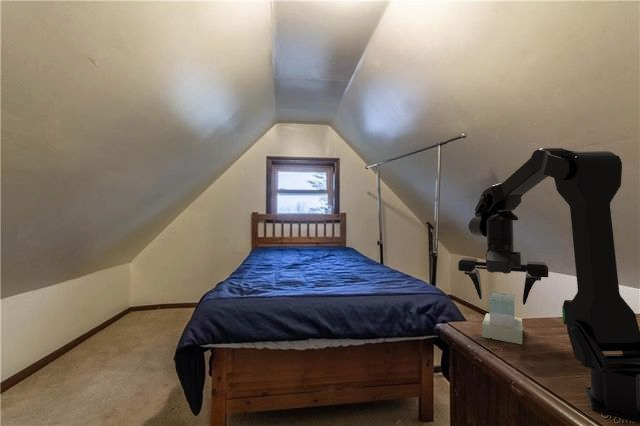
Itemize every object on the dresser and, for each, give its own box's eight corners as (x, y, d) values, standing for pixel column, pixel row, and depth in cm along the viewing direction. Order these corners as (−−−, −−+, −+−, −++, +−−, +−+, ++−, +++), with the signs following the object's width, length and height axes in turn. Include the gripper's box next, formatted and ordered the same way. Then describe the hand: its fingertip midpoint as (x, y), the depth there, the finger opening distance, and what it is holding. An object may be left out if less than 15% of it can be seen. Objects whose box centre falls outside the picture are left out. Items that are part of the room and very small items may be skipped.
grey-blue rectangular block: (515, 318, 77) (514, 294, 77) (514, 328, 70) (513, 302, 70) (492, 315, 79) (492, 292, 79) (489, 324, 73) (489, 299, 73)
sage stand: (522, 344, 68) (521, 331, 68) (482, 337, 73) (481, 324, 73) (522, 330, 77) (522, 318, 77) (486, 324, 81) (486, 313, 81)
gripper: (453, 240, 74) (455, 304, 73) (549, 242, 63) (551, 317, 63) (461, 237, 83) (462, 294, 83) (545, 238, 72) (547, 304, 72)
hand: (501, 301), depth 75 cm, fingers open, 9 cm apart
